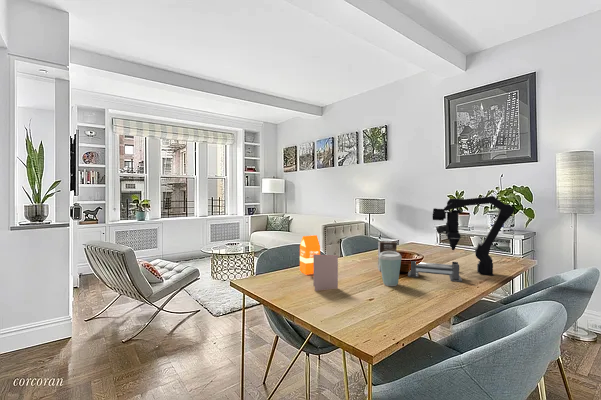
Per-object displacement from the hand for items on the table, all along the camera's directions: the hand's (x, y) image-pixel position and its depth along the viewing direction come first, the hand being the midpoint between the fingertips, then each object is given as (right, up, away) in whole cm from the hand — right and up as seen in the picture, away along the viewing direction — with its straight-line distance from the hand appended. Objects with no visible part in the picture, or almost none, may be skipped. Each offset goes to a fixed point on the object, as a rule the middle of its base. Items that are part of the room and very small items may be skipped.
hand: (452, 248), depth 171 cm
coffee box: (-37, -12, 0) cm, 39 cm away
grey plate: (-12, -12, -2) cm, 17 cm away
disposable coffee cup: (-43, -13, -26) cm, 51 cm away
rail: (-10, -10, +1) cm, 14 cm away
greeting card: (-74, -13, -32) cm, 82 cm away
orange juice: (-80, -13, -3) cm, 81 cm away
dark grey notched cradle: (-16, -12, -14) cm, 25 cm away
